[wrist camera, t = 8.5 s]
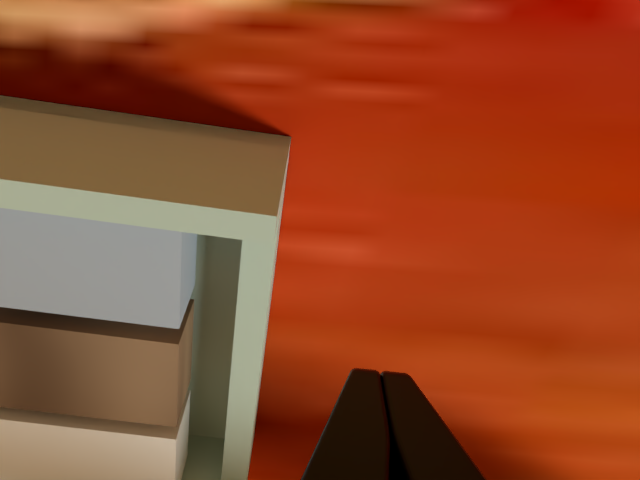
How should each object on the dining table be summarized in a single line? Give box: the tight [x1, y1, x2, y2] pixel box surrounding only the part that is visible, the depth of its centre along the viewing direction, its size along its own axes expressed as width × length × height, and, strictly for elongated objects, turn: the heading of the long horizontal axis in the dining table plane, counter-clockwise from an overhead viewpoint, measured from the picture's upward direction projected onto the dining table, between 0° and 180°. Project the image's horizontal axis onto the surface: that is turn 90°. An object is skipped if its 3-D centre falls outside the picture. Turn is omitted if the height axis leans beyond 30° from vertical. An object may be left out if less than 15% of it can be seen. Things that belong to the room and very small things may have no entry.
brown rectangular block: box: [0, 299, 194, 427], centre depth 20 cm, size 8×4×2 cm, turn 82°
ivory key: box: [0, 390, 190, 480], centre depth 22 cm, size 8×4×2 cm, turn 82°
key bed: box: [0, 95, 291, 480], centre depth 20 cm, size 13×14×6 cm
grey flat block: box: [0, 208, 197, 329], centre depth 18 cm, size 8×4×2 cm, turn 82°
